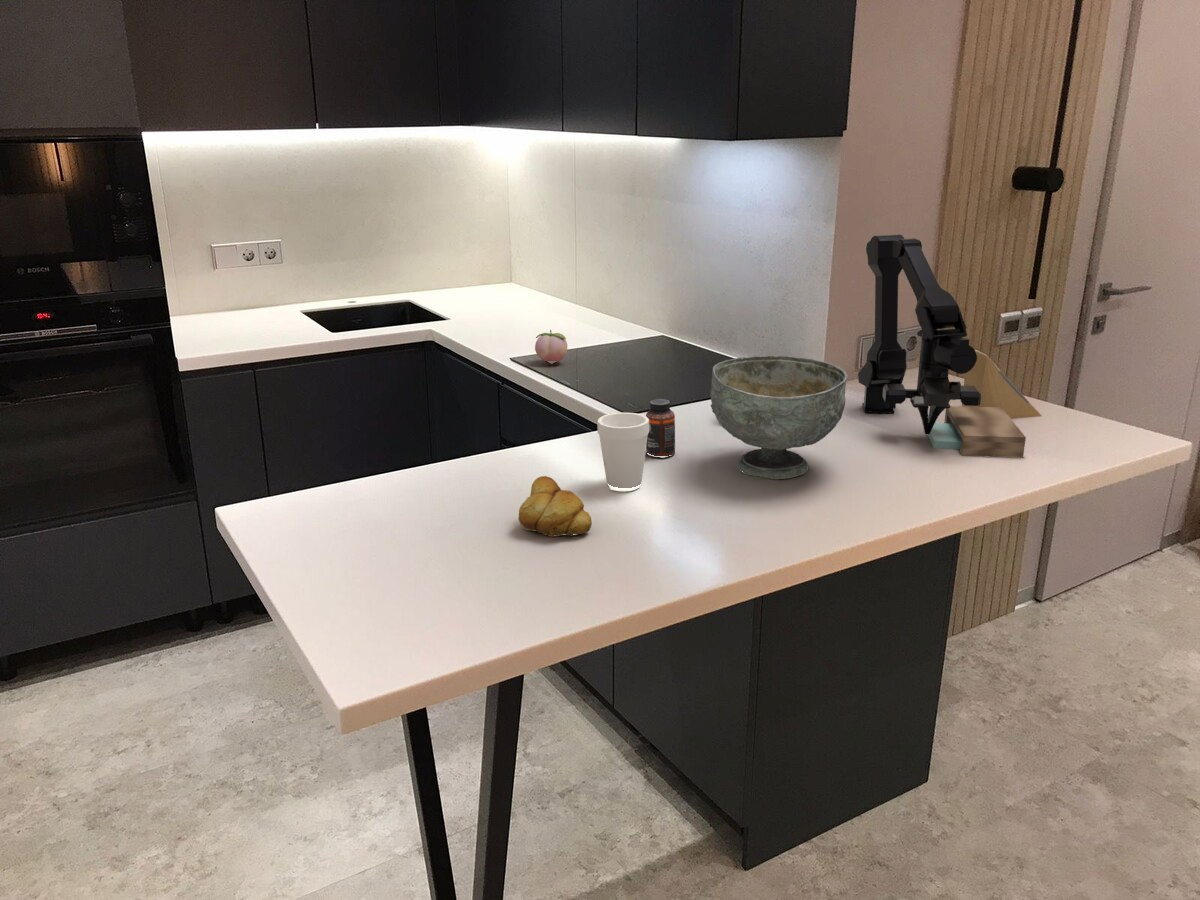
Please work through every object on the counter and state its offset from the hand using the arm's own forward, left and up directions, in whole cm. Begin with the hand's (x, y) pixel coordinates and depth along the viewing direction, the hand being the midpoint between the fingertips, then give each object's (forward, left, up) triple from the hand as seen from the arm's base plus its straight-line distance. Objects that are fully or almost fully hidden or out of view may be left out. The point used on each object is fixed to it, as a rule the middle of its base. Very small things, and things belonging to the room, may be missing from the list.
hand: (926, 433), depth 196 cm
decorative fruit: (-93, +56, -1) cm, 108 cm away
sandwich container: (+20, +20, -2) cm, 28 cm away
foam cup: (-60, -33, -1) cm, 68 cm away
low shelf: (+11, 0, -1) cm, 11 cm away
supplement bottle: (-55, -15, -1) cm, 57 cm away
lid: (+7, 0, -2) cm, 7 cm away
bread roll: (-68, -54, -1) cm, 87 cm away
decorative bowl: (-32, -21, -1) cm, 38 cm away
